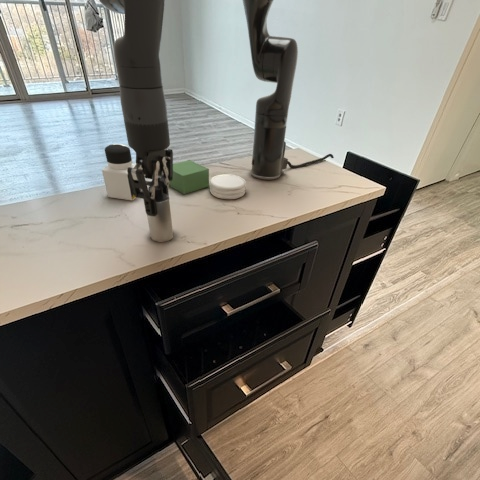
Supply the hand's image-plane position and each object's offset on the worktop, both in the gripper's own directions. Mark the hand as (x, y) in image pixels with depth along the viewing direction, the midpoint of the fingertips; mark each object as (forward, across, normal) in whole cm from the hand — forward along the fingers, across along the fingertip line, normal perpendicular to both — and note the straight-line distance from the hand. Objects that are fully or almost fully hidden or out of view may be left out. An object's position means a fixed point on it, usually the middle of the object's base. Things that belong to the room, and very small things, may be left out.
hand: (158, 209), depth 67 cm
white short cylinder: (+7, +29, -6) cm, 30 cm away
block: (+6, +29, +6) cm, 30 cm away
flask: (+6, 0, 0) cm, 6 cm away
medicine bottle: (+7, +17, +19) cm, 26 cm away
